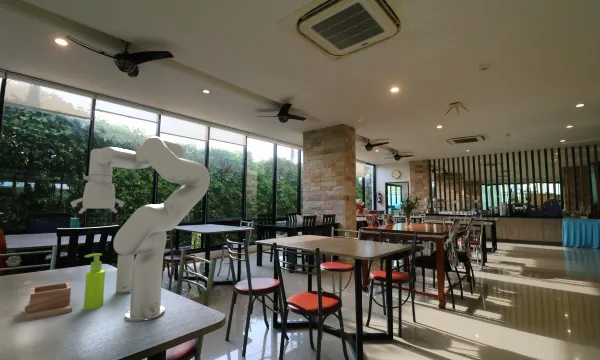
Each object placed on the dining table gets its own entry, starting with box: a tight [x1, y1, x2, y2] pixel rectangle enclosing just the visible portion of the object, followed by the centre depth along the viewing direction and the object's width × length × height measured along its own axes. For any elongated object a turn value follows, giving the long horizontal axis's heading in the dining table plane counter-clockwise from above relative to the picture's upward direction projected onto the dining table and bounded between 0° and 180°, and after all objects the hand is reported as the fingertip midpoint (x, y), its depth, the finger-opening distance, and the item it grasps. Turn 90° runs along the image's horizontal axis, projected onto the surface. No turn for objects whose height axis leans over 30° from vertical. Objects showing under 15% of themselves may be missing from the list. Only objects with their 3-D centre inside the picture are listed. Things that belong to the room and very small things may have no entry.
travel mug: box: [115, 253, 135, 295], centre depth 125 cm, size 6×7×20 cm
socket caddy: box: [25, 281, 73, 322], centre depth 105 cm, size 20×12×8 cm, turn 43°
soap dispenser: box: [83, 253, 106, 310], centre depth 107 cm, size 6×7×20 cm
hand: (97, 223), depth 109 cm, fingers open, 9 cm apart
